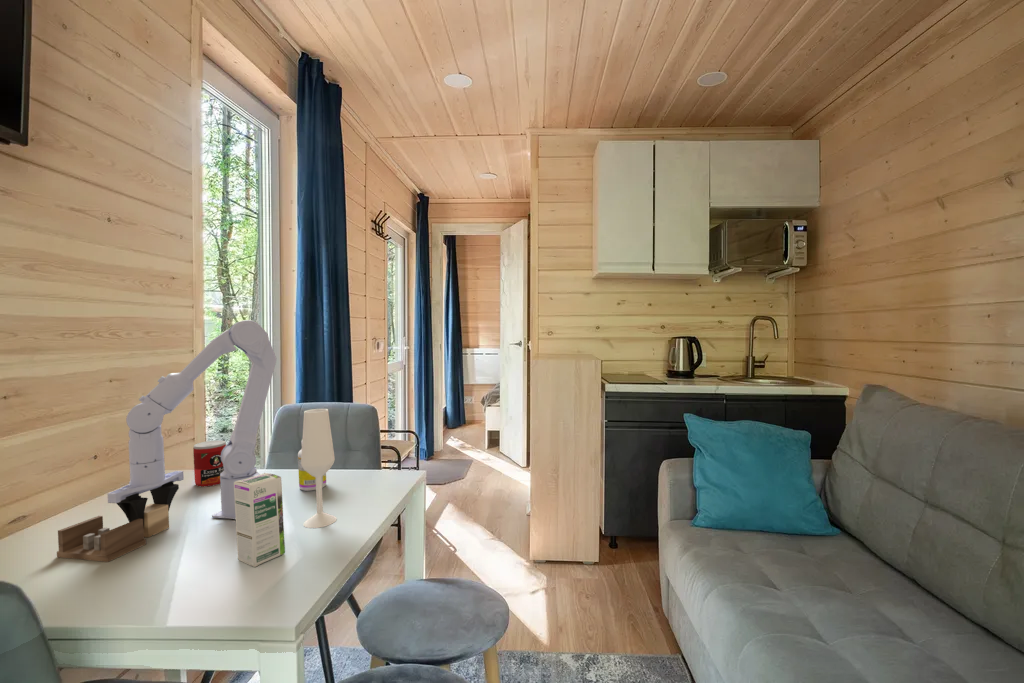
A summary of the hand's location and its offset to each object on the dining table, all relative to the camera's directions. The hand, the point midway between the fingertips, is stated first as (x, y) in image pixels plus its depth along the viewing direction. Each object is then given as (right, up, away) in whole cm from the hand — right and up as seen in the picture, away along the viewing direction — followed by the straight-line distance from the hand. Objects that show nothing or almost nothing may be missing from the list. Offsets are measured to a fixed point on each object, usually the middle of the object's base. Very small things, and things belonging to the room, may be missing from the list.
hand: (150, 525), depth 96 cm
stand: (-3, -2, -8) cm, 9 cm away
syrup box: (+30, -1, -13) cm, 33 cm away
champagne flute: (+34, -1, +3) cm, 35 cm away
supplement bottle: (+23, -1, +26) cm, 35 cm away
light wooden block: (0, -1, 0) cm, 1 cm away
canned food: (-8, -1, +32) cm, 34 cm away
